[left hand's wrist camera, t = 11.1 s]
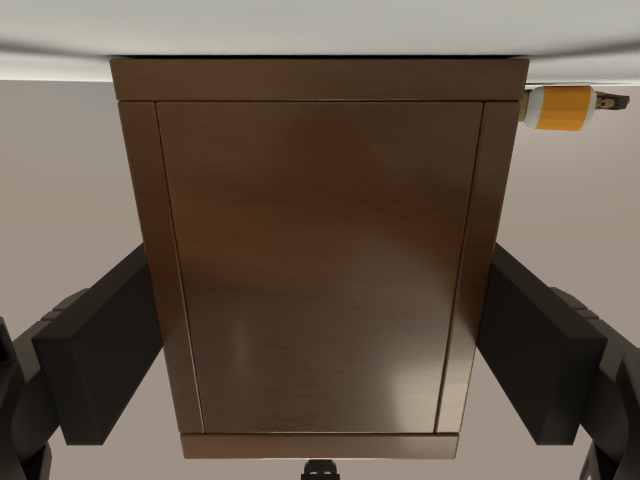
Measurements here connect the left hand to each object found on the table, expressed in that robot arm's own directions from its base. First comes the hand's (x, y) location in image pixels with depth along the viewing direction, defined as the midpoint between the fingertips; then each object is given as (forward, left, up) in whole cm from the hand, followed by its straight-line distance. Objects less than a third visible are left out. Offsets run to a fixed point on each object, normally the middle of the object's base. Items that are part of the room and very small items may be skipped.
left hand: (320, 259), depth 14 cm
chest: (+5, -3, -6) cm, 8 cm away
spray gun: (+41, +3, -6) cm, 42 cm away
